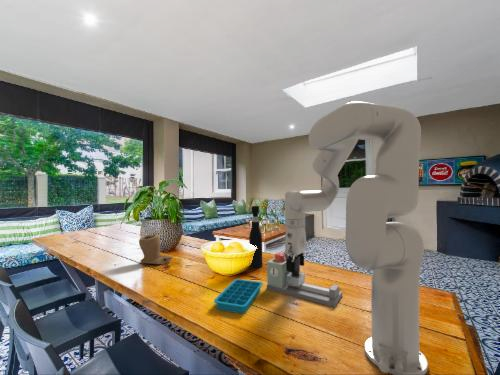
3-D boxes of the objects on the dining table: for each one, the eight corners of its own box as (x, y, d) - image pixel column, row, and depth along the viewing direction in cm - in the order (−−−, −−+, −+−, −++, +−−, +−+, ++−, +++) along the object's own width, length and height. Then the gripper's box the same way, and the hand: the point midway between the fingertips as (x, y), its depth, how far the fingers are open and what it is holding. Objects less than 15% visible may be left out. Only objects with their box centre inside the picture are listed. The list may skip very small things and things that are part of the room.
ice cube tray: (263, 289, 95) (263, 282, 95) (245, 316, 76) (245, 307, 76) (235, 286, 99) (235, 278, 98) (212, 310, 79) (212, 301, 79)
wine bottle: (261, 268, 118) (260, 206, 117) (248, 267, 119) (247, 206, 118) (263, 264, 124) (262, 205, 123) (251, 263, 125) (250, 205, 125)
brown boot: (134, 265, 125) (133, 236, 125) (151, 258, 136) (151, 231, 136) (157, 268, 120) (156, 238, 119) (173, 261, 131) (172, 233, 130)
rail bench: (334, 307, 80) (334, 275, 80) (266, 289, 94) (266, 262, 94) (342, 295, 88) (342, 266, 88) (278, 280, 103) (278, 255, 103)
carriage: (298, 289, 89) (298, 259, 89) (286, 286, 92) (286, 257, 92) (304, 283, 94) (304, 255, 94) (293, 281, 97) (292, 253, 97)
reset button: (282, 272, 94) (282, 256, 94) (273, 270, 96) (272, 255, 96) (286, 269, 97) (286, 254, 97) (277, 267, 100) (277, 252, 100)
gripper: (294, 227, 84) (295, 277, 84) (312, 220, 98) (313, 263, 98) (275, 225, 88) (276, 273, 88) (295, 219, 102) (295, 260, 102)
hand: (295, 268), depth 93 cm, fingers open, 8 cm apart
